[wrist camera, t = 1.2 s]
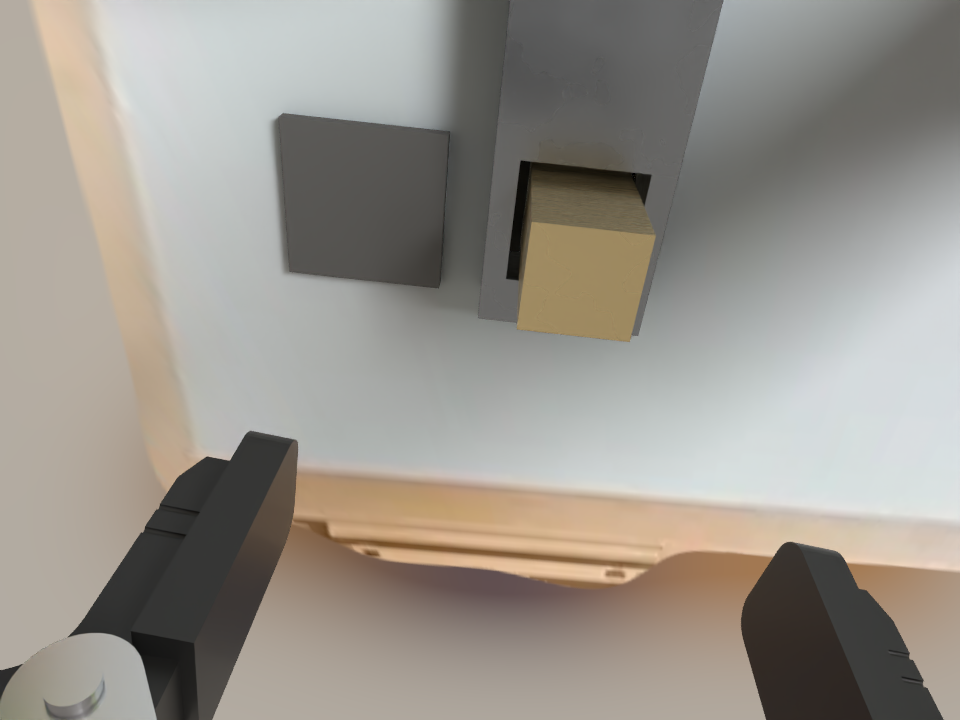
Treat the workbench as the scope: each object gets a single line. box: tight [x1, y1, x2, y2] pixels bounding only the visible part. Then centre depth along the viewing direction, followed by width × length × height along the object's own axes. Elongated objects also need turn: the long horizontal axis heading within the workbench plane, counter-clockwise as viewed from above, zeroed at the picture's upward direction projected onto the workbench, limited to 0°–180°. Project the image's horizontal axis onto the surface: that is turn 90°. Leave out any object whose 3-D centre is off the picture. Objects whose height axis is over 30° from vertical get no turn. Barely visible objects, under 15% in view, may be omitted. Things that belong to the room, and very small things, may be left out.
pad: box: [279, 113, 450, 288], centre depth 30 cm, size 7×7×1 cm
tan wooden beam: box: [517, 161, 656, 342], centre depth 26 cm, size 4×4×8 cm
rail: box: [478, 0, 723, 336], centre depth 25 cm, size 7×21×3 cm, turn 175°
